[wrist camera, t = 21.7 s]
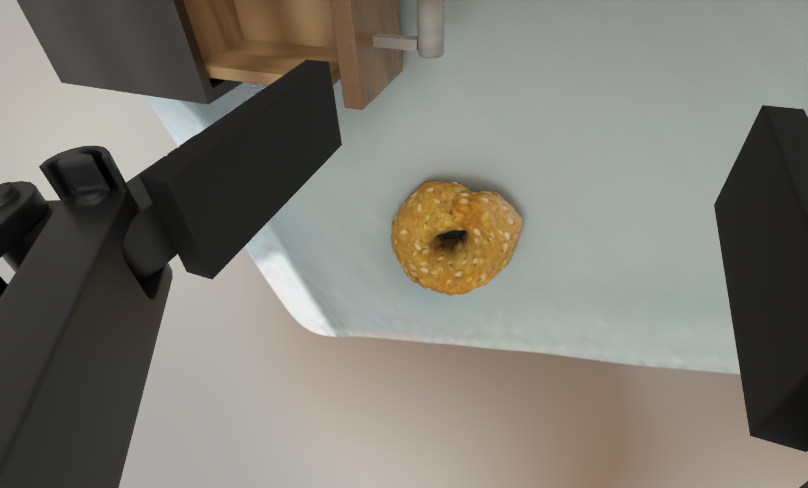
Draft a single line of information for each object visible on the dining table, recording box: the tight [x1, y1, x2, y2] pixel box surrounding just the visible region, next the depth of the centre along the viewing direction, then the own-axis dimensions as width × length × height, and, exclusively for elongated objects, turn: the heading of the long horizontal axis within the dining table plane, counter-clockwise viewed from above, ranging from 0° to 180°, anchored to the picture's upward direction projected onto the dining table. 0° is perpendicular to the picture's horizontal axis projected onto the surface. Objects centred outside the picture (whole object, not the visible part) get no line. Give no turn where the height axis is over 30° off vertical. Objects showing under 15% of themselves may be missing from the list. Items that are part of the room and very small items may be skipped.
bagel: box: [391, 181, 523, 296], centre depth 37 cm, size 10×11×5 cm
